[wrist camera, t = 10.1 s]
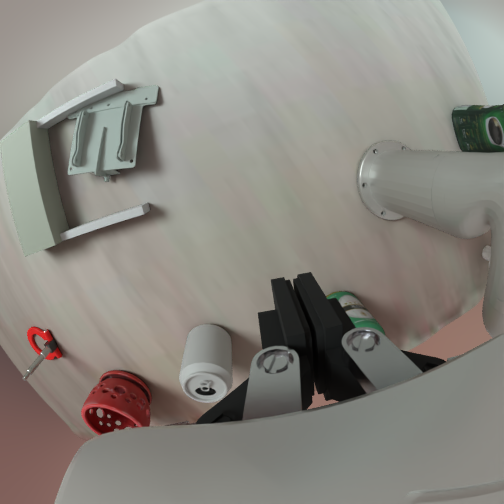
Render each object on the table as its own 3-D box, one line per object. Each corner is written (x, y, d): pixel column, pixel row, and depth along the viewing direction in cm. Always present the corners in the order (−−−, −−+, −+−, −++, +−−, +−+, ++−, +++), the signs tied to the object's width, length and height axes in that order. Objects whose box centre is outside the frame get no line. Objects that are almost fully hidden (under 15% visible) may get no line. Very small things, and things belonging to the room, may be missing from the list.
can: (189, 355, 45) (180, 405, 34) (185, 320, 43) (174, 369, 31) (231, 356, 45) (232, 407, 34) (231, 321, 43) (232, 371, 32)
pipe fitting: (476, 247, 43) (501, 260, 36) (492, 232, 42) (516, 243, 35) (478, 270, 45) (500, 284, 37) (494, 255, 44) (516, 267, 37)
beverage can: (363, 291, 43) (397, 328, 32) (348, 330, 46) (375, 372, 34) (321, 286, 42) (349, 327, 31) (308, 327, 45) (329, 374, 33)
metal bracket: (144, 168, 30) (50, 180, 29) (156, 179, 35) (70, 187, 34) (157, 73, 29) (68, 92, 28) (165, 93, 35) (83, 106, 34)
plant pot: (155, 411, 50) (146, 453, 38) (101, 393, 48) (84, 432, 36) (160, 374, 46) (148, 421, 35) (98, 354, 44) (75, 395, 33)
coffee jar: (479, 150, 36) (548, 159, 19) (458, 156, 37) (534, 167, 19) (467, 104, 33) (537, 100, 16) (445, 107, 34) (522, 100, 16)
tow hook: (41, 356, 44) (65, 357, 44) (14, 390, 32) (38, 396, 32) (24, 326, 42) (47, 324, 42) (-7, 358, 30) (14, 361, 29)
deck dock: (123, 83, 30) (109, 74, 25) (150, 210, 37) (139, 217, 32) (17, 142, 30) (-1, 142, 25) (41, 247, 37) (25, 256, 32)
